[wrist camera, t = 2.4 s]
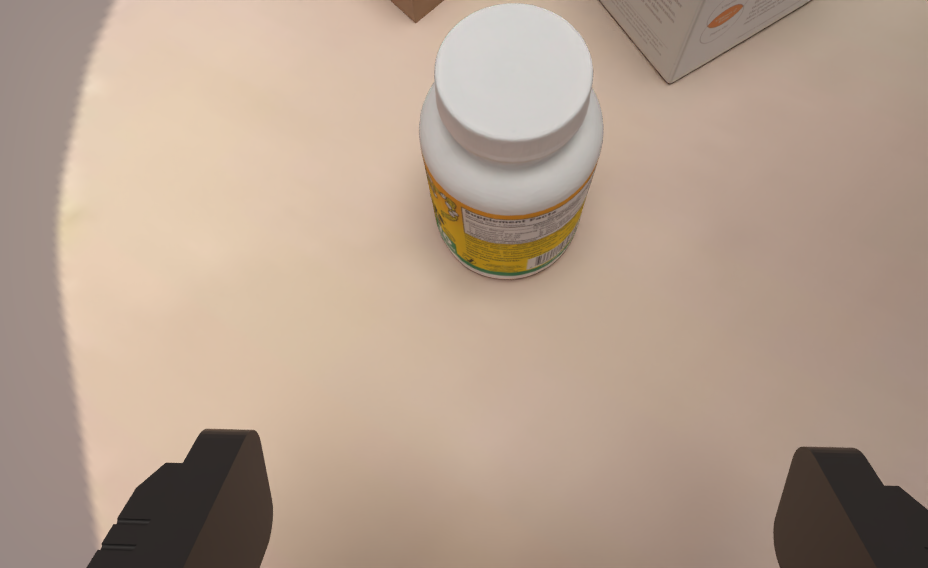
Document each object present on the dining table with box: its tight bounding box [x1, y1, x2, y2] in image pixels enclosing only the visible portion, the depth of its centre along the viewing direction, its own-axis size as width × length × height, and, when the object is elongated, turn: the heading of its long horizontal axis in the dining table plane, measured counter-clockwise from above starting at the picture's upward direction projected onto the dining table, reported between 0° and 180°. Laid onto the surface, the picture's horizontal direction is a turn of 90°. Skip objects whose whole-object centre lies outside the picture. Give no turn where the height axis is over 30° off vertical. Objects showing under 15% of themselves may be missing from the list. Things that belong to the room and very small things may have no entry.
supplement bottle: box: [419, 3, 603, 279], centre depth 22 cm, size 5×5×10 cm
